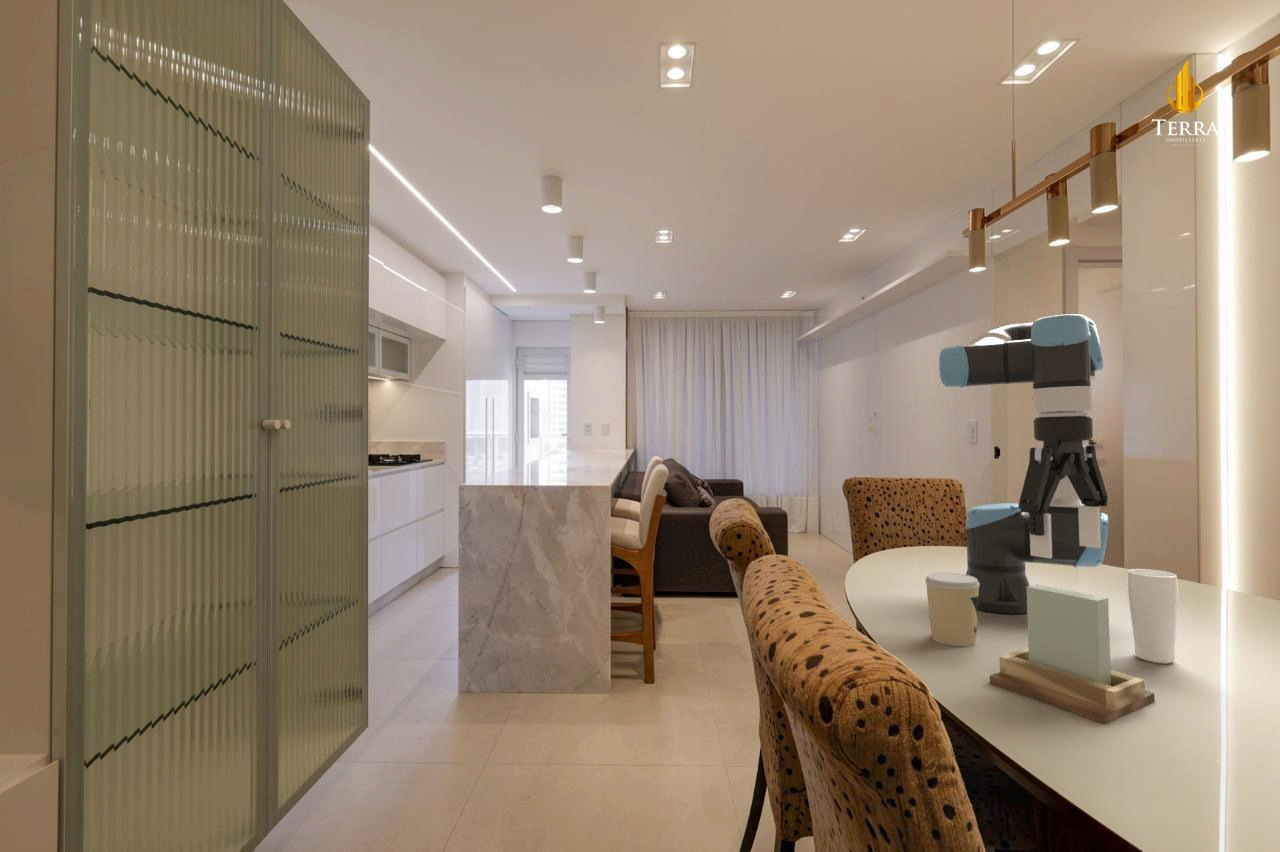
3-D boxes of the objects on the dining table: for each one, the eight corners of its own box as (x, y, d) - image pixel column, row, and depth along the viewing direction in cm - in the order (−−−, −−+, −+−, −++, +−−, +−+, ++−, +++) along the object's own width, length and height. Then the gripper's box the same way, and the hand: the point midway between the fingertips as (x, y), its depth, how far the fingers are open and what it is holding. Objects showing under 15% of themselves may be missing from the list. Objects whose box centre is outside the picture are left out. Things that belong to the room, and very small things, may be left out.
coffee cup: (988, 649, 112) (986, 583, 112) (934, 646, 114) (932, 582, 114) (971, 633, 121) (970, 572, 121) (921, 630, 123) (919, 571, 123)
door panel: (1040, 671, 98) (1037, 584, 98) (1111, 693, 89) (1108, 598, 90) (1029, 674, 97) (1026, 586, 97) (1100, 697, 88) (1097, 600, 88)
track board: (1040, 666, 103) (1039, 644, 103) (1154, 701, 89) (1153, 676, 89) (989, 683, 97) (989, 659, 97) (1104, 723, 83) (1103, 696, 83)
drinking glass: (1132, 649, 110) (1129, 566, 111) (1182, 658, 106) (1179, 572, 106) (1127, 659, 106) (1124, 573, 106) (1178, 669, 101) (1175, 579, 101)
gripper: (1079, 415, 104) (1083, 539, 104) (989, 417, 92) (993, 556, 92) (1131, 413, 97) (1135, 546, 97) (1041, 415, 86) (1045, 565, 85)
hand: (1066, 551), depth 95 cm, fingers open, 13 cm apart
